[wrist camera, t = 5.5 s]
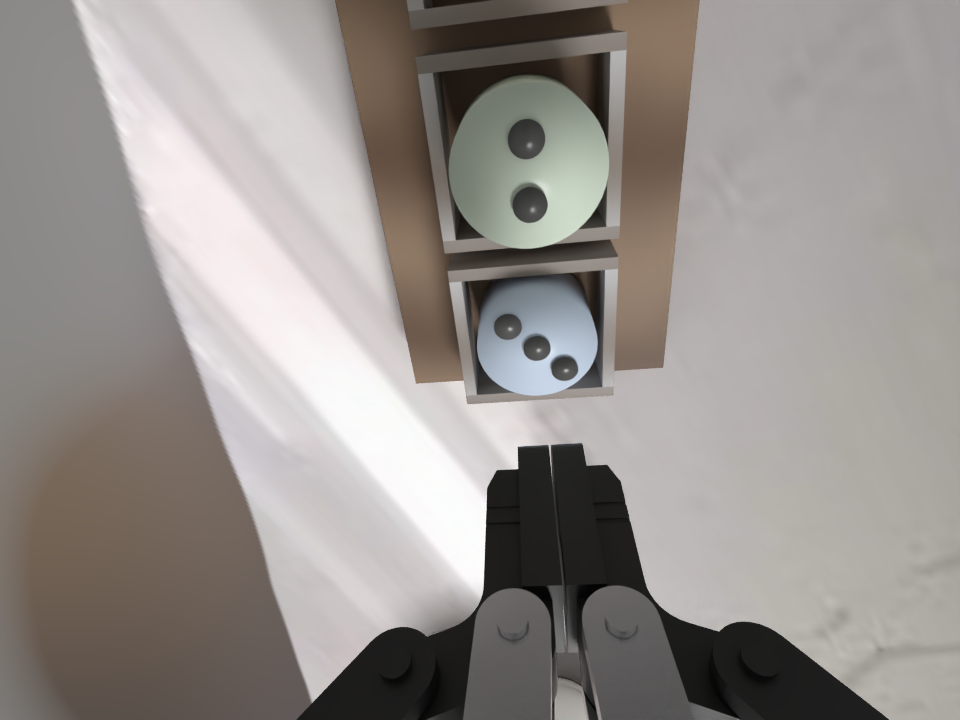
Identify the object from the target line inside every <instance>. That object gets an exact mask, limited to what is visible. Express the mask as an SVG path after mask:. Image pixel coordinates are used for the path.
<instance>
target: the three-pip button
mask: <svg viewBox="0 0 960 720" xmlns="http://www.w3.org/2000/svg"><path fill="white" fill-rule="evenodd" d="M597 345H598V340H597V333H596V329H595V326H594V322H593V319H592V315H591V312H590V308H589V305H588V302H587V298H586V295H585V292H584V290H583V288H582V286H581V285H580V283H579V282H578V281H577V279H576V278H575V277H574V276H572V275H571V274H570V273H561V274H549V275H537V276H525V277H512V278H500V279H493V280H492V282H491V283H490V284H489V285H488V287H487V289H486V290H485V292H484V294H483V297H482V300H481V304H480V315H479V327H478V339H477V353H478V358H479V361H480V363H481V365H482V367H483V369H484V371H485V372H486V373H487V375H488V376H489V377H490V378H491V379H492V380H493V381H494V382H496V383H497V384H498V385H500V386H501V387H503V388H505V389H507V390H509V391H512V392H515V393H518V394H523V395H531V396H540V395H548V394H552V393H556V392H559V391H562V390H564V389H566V388H568V387H570V386H572V385H573V384H575V383H576V382H577V381H579V380H580V379H581V378H582V377H583V376H584V375H585V374H586V373H587V371H588V370H589V369H590V367H591V365H592V364H593V361H594V359H595V356H596V352H597Z"/></svg>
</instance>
